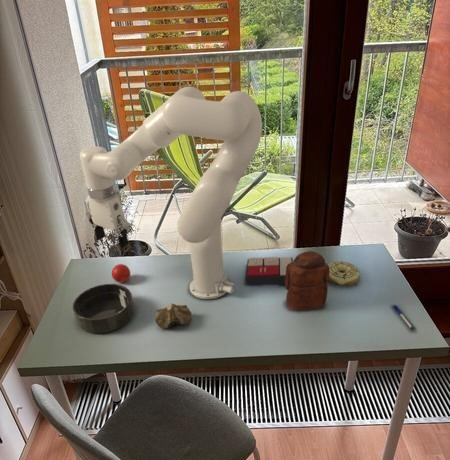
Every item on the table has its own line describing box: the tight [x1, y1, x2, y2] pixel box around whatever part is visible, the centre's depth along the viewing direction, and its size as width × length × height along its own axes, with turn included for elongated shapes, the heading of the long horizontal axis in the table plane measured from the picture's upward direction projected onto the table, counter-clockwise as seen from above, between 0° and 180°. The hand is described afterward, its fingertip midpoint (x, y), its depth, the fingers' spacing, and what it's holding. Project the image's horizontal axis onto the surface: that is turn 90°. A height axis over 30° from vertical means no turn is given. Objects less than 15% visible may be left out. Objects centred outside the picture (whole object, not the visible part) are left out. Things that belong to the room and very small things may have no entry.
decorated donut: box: [327, 260, 361, 287], centre depth 138 cm, size 10×11×4 cm
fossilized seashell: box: [154, 303, 193, 329], centre depth 124 cm, size 8×7×10 cm
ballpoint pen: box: [393, 304, 414, 331], centre depth 122 cm, size 10×1×1 cm, turn 11°
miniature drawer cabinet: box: [245, 256, 294, 286], centre depth 141 cm, size 11×4×15 cm
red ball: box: [111, 263, 131, 283], centre depth 143 cm, size 6×6×6 cm
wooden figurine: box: [284, 250, 330, 312], centre depth 124 cm, size 12×6×18 cm, turn 97°
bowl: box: [72, 283, 136, 334], centre depth 128 cm, size 17×17×6 cm
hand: (112, 242), depth 136 cm, fingers open, 9 cm apart
